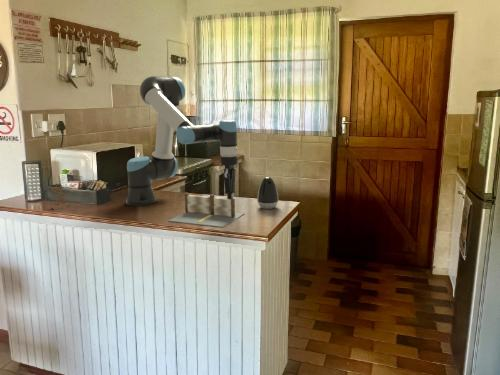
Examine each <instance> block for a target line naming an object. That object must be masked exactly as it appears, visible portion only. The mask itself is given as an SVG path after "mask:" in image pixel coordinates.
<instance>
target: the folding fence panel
mask: <svg viewBox="0 0 500 375" xmlns="http://www.w3.org/2000/svg"><path fill="white" fill-rule="evenodd" d="M235 213H236V200H235V198H234V199H227V198H224V197H215V196H214V214H216V215H223V216H229V217H235Z"/></svg>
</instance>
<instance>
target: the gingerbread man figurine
mask: <svg viewBox="0 0 500 375" xmlns="http://www.w3.org/2000/svg"><path fill="white" fill-rule="evenodd" d="M62 192H64V193H62ZM54 193H57V194H54ZM51 194H52V195H53V196H56V199H55V203H54V205H53V207H54V206H58V205H62V204H66V203H67V201H66V200H65V199H64V198H65V197H67V196H68V193H67V191H66V190H63V186H62V184H59V183H58V184H55V187H54V188H52V189H51ZM61 199H62V200H63V201H62V200H61ZM57 202H58V203H57ZM60 203H61V204H60Z"/></svg>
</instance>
